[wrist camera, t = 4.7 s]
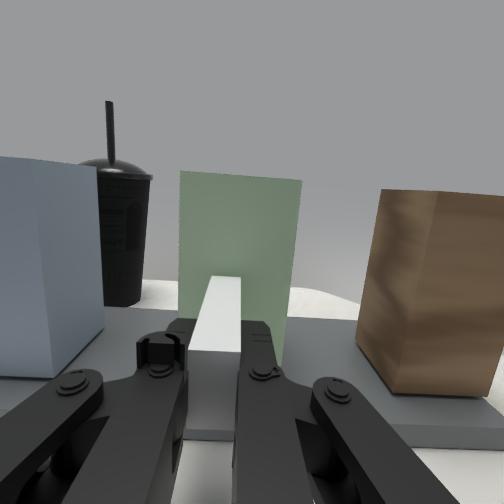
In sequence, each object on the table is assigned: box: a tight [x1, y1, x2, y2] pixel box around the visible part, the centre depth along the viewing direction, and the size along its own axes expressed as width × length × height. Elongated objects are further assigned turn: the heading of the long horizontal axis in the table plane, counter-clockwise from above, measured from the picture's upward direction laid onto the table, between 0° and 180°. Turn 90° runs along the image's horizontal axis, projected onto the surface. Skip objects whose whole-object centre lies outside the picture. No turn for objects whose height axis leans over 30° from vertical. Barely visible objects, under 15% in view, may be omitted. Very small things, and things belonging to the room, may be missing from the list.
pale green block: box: [178, 171, 302, 367], centre depth 18 cm, size 6×6×12 cm
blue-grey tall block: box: [0, 156, 105, 378], centre depth 17 cm, size 6×6×12 cm
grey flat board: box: [0, 307, 504, 450], centre depth 20 cm, size 12×32×2 cm, turn 92°
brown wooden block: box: [355, 189, 504, 397], centre depth 18 cm, size 6×6×12 cm
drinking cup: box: [78, 101, 153, 307], centre depth 28 cm, size 8×8×20 cm
